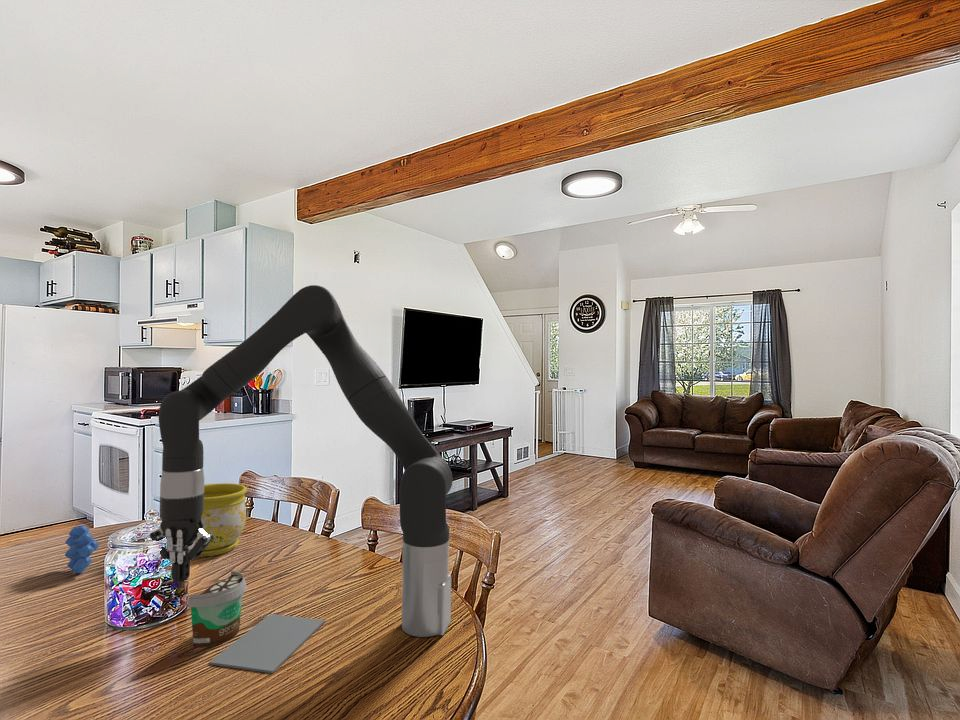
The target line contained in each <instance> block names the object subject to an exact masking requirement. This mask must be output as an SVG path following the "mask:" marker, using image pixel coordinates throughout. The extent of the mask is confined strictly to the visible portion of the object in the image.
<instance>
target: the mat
mask: <svg viewBox="0 0 960 720" xmlns="http://www.w3.org/2000/svg"><path fill="white" fill-rule="evenodd" d="M325 623H326V620H325V619H324V620H323V619H318V618H308V617H300V616H292V615H285V614H284V615H283V614H275V613H270V614H268V615H267V616H266V617H265V618H264V619H262V620H261V621H260V622H258V623H257V624H256V625H254V626H253V627H252V628H251V629H249V630H248V631H247V632H245V634H243V635H242V636H240V637H239V638H237V640H236V641H234V642H233V643H231V644H230V645H229V646H228V647H227V648H225V649H224V650H223V651H221V652H220V653H219V654H217V655H216V656H215V657H214V658H212V659H211V660H210V661H209V662H208V663H209V665H211V666H219V667H226V668H232V669H239V670H245V671H252V672H259V673H267V674H274V673H275V672H276V671H278V669H280V667H281V666H282V665H283V664H284V663H286V661H287V660H288V659H290V657H291V656H293V655H294V654H295V652H296V651H297V650H298V649H300V647H301V646H302V645H304V644H305V643H306V641H307V640H309V638H311V637H312V636H313V635H314V634H315V632H317V630H319V629H320V628H321V626H323V625H324V624H325Z"/></svg>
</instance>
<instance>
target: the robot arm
mask: <svg viewBox="0 0 960 720" xmlns="http://www.w3.org/2000/svg"><path fill="white" fill-rule="evenodd" d="M305 334H307V336H308V337H309V338H310V339H311V341H313V343H314V344H315V346H316V347H317V348H318V349H319V350H320V351H321V353H322V354H323V355H324V357H325V359H326V360H327V362H328V364H329V365H330V368H331V369H332V371H333V374H334V377H335V379H336V382H337V383H338V384H337V385H338V386H339V387H340V389H341V391H342V393H343V395H344V397H345V399H346V400H347V402H348V403H349V405H350V406H351V408H352V409H353V411H354V412H355V415H356V416H357V417H358V418H359V419H360V421H361V422H362V423H363V424H364V425H365V426H366V427H367V428H368V429H369V430H370V431H371V432H372V433H373V434H375V436H377V437H378V438H379V439H380V440H382V442H384V443H385V444H386V445H387V446H388V447H389V448H390V449H391V450H392V452H393V453H394V455H395V456H396V458H397V459H398V461H399V463H400V464H401V466H402V467H403V470H404V471H403V473H402V475H401V478H400V482H399V524H400V528H401V532H402V562H401V563H402V565H401V566H402V570H401V571H402V573H401V576H402V578H401V579H402V580H401V585H402V586H401V628H402V630H403V632H404V633H406V634H407V635H409V636H413V637H419V638H428V637H434V636H444V635H445V633H446V631H447V629H448V627H449V625H450V623H451V621H452V574H450V573H449V571H450V570H449V569H450V566H449V565H450V557H449V555H450V527H449V524H448V523H447V495H448V494H449V492H450V491H451V489H452V487H453V473H452V470H451V468H450V465H449V464H448V463H447V462H446V460H445V459H444V458H443V457H442V455H441V454H440V453H439V452H438V450H436V448H435V447H434V446H433V445H432V443H430V441H429V440H428V439H427V437H426V436H425V435H424V433H423V432H422V430H420V428H419V426H418V424H417V423H416V421H415V419H414V417H413V416H412V414H411V413H410V411H409V409H408V408H407V407H406V405H405V403H404V402H403V400H402V399H401V397H400V396H399V394H398V392H397V391H396V389H395V388H394V385H393V384H392V383H391V381H390V379H389V378H388V377H387V375H386V374H385V373H384V371H383V370H382V369H381V368H380V366H379V365H378V364H377V362H376V361H375V360H374V359H373V358H372V357H371V355H370V354H368V353H367V351H366V350H365V349H363V347H362V346H361V345H360V343H359V342H358V341H357V339H356V337H355V336H354V334H353V331H352V330H351V329H350V327H349V326H348V323H347V321H346V319H345V317H344V315H343V313H342V311H341V308H340V306H339V303H338V302H337V300H336V298H335V297H334V295H333V293H332V292H331V291H330V290H329V289H327V288H326V287H324V286H321V285H316V284H314V285H313V284H311V285H306V286H305V287H302V288H301V289H299V290H298V291H296V293H294V294H293V295H292V296H291V297H290V298H289V299H288V300H287V301H286V302H285V303H284V304H283V305H282V306H281V307H280V309H278V310H277V312H276V313H274V314H273V315H272V316H271V317H270V318H269V319H268V320H266V322H265V323H264V324H263V325H261V326H260V328H258V329H257V330H256V331H255V332H254V333H252V334H251V335H250V336H249V337H247V338H246V339H245V340H243V342H241V343H240V344H239V345H237V346H236V347H234V348H233V349H232V350H230V351H229V352H228V353H226V354H225V355H224V356H222V357H221V358H220V359H218V360H217V361H215V362H214V363H212V364H211V365H210V366H209V367H208V368H206V369H205V370H204V371H203V372H202V375H201V376H200V377H198V378H197V379H196V380H194V381H193V382H191V383H190V384H188V385H187V386H185V387H183V388H181V390H176V391H173V392H170V393H168V394H167V395H165V396H164V398H163V399H162V400H161V402H160V404H159V409H158V426H159V431H160V439H161V443H162V454H161V456H162V458H161V459H162V462H161V464H162V465H161V469H162V470H161V477H160V483H159V484H160V485H159V487H160V488H159V518H160V519H161V522H160V524H159V525H160V526H159V528H158V529H156V530H155V531H152V532H150V533H149V538H150V539H152V540H156V541H159V540H161V539H163V538H165V537H166V539H167V548H166V547H162V550H161V551H160V553H159V554H160V556H161V557H162V559H163V560H169V562H170V563H171V577H172V581H173V583H177V584H182V583H184V582H186V581H187V580H188V579H189V578H190V575H191V573H190V571H191V570H190V569H191V561H193V560H195V559H197V558H200V557H199V556H200V555H201V553H202V552H203V551H204V550H205V548H206V547H207V546H208V544H209V543H210V542H211V540H212V539H213V534H211V533H210V534H207V533H206V532H205V531H204V530H203V523H202V521H201V517H202V514H203V512H204V485H205V473H204V444H203V443H204V442H203V441H202V440H201V439H200V421H201V420H203V419H204V418H205V417H206V416H207V415H209V414H210V413H212V411H213V410H215V409H216V408H217V407H218V406H220V405H221V404H222V402H224V401H225V400H226V399H228V398H229V397H231V396H232V395H234V394H235V393H237V392H239V391H240V390H241V389H242V388H244V387H245V386H246V385H248V384H250V382H252V381H253V380H254V379H255V378H256V377H257V376H259V375H260V374H261V373H262V372H263V371H264V370H265V369H266V368H267V367H268V365H269V364H270V363H271V362H272V361H273V360H274V358H275V357H276V356H278V354H279V353H280V352H281V351H282V350H283V349H285V348H286V347H287V346H288V345H290V343H292V342H293V341H295V340H296V339H298V338H299V337H301V336H303V335H305ZM196 538H197V539H196ZM195 539H196V540H195ZM152 540H151V541H152ZM195 542H196V544H195Z"/></svg>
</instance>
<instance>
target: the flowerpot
mask: <svg viewBox="0 0 960 720" xmlns="http://www.w3.org/2000/svg"><path fill="white" fill-rule="evenodd" d="M247 491H248V488H247V486H245V485H244V484H240V483H228V482H224V483H223V482H222V483H221V482H220V483H207V484H206V483H204V512H203V514H202V517H201V521H202V523H203V530H204V531H205V532H206V533H207V534H210V533H211V534H213V539H212V540H211V542H210V543H209V544H208V546H207V547H206V548H205V550H204V551H203V552H202V553H201V555H200V556H199V557H198V558H205V556H209V557H214V555H215V556H219V554H220V555H223V554H226V553H228V552H231V551H232V550H234V549H235V548H236V545H238V544H239V542H240V539H239V537H240V536H241V534H242V532H243V531H244V528H245V526H246V521H247V508H246V507H247V506H246V496H245V494H246V493H247ZM196 539H197V538H196ZM196 539H195V540H196ZM195 544H196V542H195ZM203 556H204V557H203Z"/></svg>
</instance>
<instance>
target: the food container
mask: <svg viewBox="0 0 960 720" xmlns="http://www.w3.org/2000/svg"><path fill="white" fill-rule="evenodd" d="M247 588H248V587H247V582H246V579H245V577H244V574H243V573H241V572H239V571H235V570H231V571H230V575H229V576H228V577H227V578H225V579H223V580H221V581H218V582H216V583H212V585H210V586H209V587H208V588H207V589H205V590H204V591H202V592H201V593H199V594H193V593H191V594H190V597H189V599H188V603H187V604H188V605H187V607H188V608H190V613H191V614H190V615H191V629H192V632H191V633H192V646H193V648H206V647H213V646H218V645H221V644H223V643H226V642H228V641H231V640H233V638H235V637H236V636H237V635H238V634H239V632H240V626H241V624H240V623H241V614H242V604H243V603H242V602H243V594H245V592H246V591H247Z"/></svg>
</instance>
